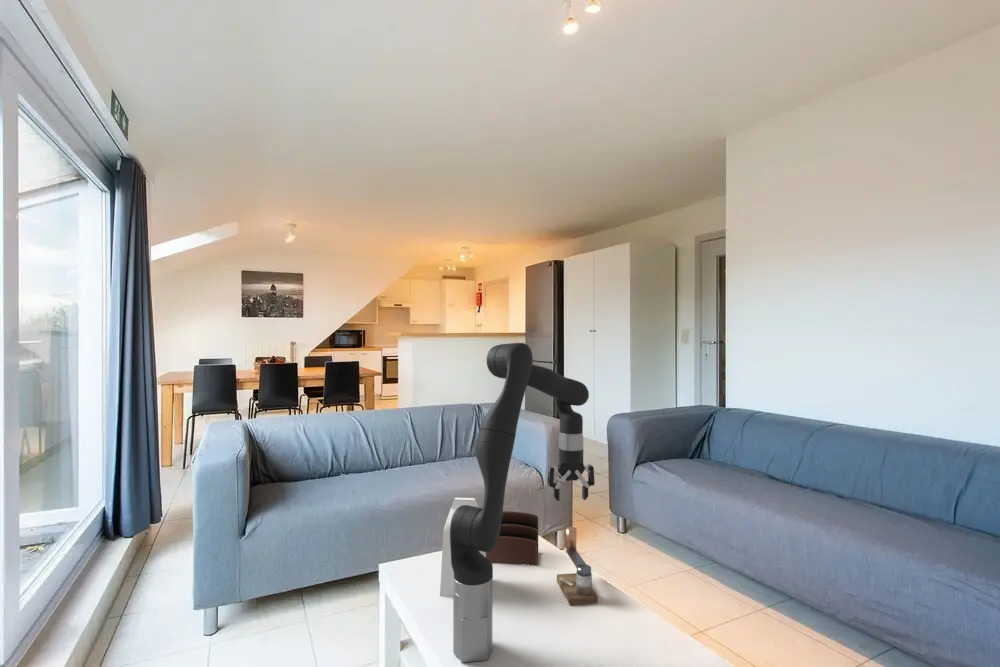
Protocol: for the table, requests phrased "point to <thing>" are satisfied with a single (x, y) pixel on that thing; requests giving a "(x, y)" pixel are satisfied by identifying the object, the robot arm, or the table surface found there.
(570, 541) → the lever
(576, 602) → the press bench
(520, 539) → the letter holder
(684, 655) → the table surface
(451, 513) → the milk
